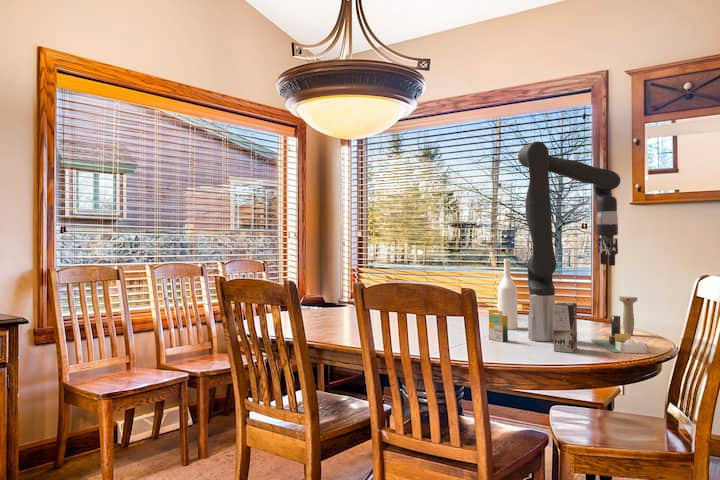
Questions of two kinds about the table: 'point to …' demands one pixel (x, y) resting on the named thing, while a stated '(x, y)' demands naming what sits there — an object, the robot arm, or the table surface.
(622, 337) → the long multicoloured device
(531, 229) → the robot arm
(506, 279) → the bottle
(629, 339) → the ball
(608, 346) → the pitch
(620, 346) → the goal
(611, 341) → the brown cardboard carton
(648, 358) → the table surface
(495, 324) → the crayon box
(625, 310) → the handle
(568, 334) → the coffee box
